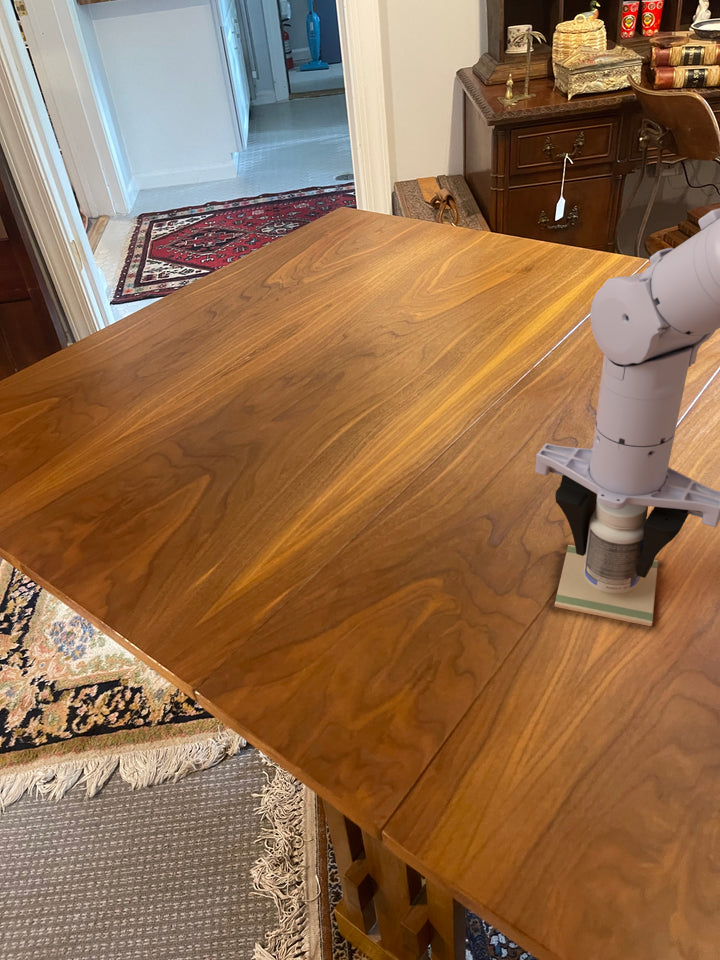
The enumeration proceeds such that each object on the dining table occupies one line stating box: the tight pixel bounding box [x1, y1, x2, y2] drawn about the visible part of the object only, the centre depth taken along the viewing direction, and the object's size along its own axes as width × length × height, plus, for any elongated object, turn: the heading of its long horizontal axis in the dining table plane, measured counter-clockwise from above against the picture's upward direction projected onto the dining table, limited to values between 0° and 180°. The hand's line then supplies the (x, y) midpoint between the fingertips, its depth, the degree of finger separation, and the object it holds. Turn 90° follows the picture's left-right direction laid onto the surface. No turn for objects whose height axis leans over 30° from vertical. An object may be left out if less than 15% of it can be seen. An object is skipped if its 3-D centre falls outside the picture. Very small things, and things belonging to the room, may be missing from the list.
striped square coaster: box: [554, 544, 659, 627], centre depth 66 cm, size 8×8×1 cm
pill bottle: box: [584, 502, 649, 593], centre depth 62 cm, size 5×5×8 cm
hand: (613, 558), depth 63 cm, fingers closed on pill bottle, 5 cm apart
